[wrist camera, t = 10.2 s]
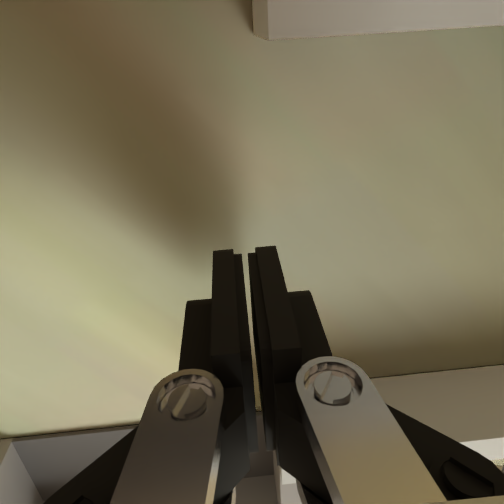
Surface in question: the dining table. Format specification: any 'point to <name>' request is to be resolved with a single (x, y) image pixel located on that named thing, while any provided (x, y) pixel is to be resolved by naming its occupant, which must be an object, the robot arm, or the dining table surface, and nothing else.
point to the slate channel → (424, 384)
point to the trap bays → (98, 442)
